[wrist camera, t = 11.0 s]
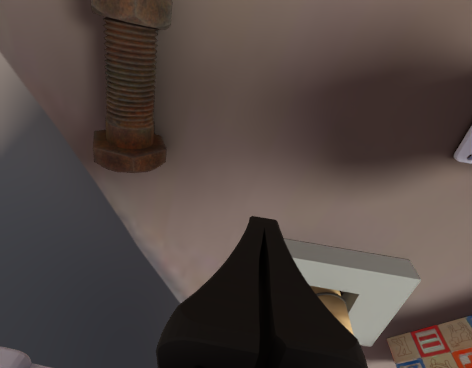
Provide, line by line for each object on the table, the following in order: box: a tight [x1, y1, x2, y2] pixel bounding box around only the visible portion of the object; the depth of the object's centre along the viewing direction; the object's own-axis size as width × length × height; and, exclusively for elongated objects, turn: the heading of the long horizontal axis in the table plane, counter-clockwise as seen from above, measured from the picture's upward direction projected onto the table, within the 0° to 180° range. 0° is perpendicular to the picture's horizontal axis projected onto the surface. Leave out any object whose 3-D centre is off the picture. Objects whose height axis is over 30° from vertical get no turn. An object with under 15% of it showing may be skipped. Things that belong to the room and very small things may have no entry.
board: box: [284, 239, 421, 347], centre depth 28 cm, size 14×12×2 cm
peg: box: [310, 286, 354, 335], centre depth 26 cm, size 4×4×6 cm
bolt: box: [91, 0, 172, 173], centre depth 17 cm, size 6×5×15 cm
